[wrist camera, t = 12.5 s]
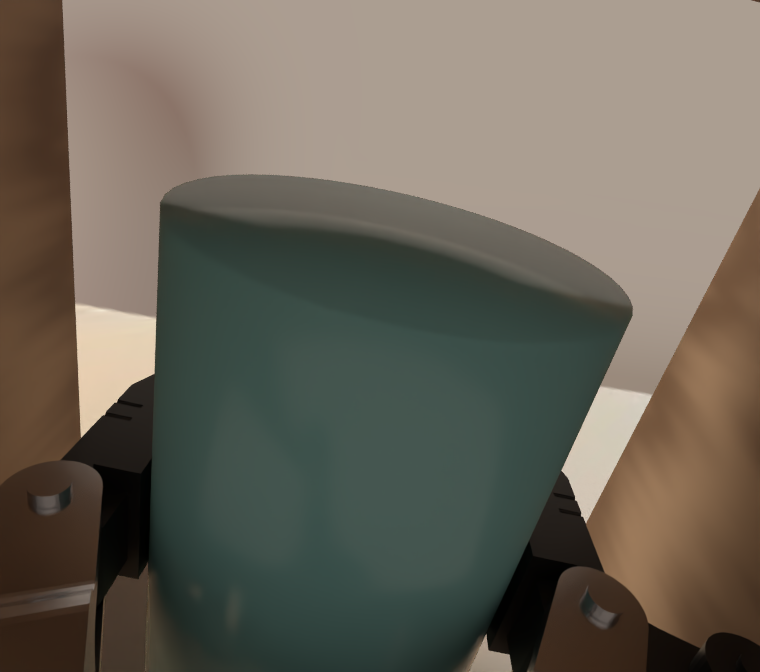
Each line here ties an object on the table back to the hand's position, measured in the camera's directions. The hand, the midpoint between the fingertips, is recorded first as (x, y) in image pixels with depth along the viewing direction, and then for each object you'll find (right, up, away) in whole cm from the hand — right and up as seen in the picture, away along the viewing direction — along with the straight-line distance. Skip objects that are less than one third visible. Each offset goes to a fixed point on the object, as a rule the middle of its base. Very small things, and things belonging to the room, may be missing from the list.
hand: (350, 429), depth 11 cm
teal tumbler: (-2, -7, +1) cm, 7 cm away
